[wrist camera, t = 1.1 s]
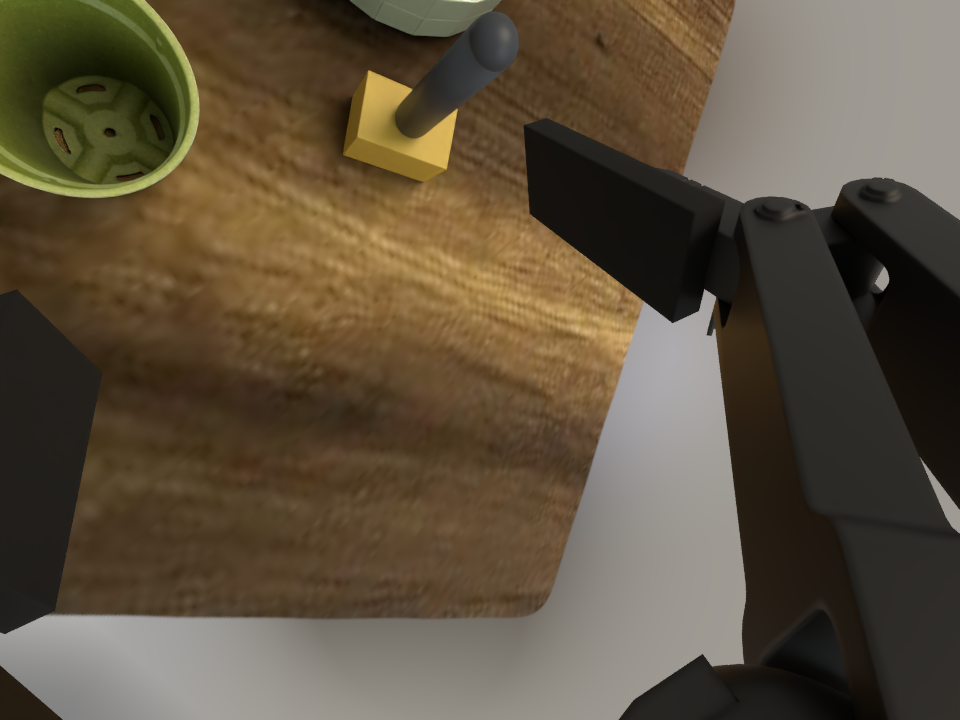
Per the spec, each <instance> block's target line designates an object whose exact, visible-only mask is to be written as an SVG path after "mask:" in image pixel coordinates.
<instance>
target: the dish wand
mask: <svg viewBox="0 0 960 720" xmlns="http://www.w3.org/2000/svg"><path fill="white" fill-rule="evenodd" d="M518 47H519V36H518V32H517V29H516V27H515V25H514V23H513V22H512V20H511V19H510V18H509V17H508V16H506V15H505V14H503V13H501V12H496V11H490V12H487V13H484V14H482V15H480V16H479V17H478V18H477V19H476V20H475V21H474V22H473V23H472V24H471V25H470V26H469V27H468V29H467V30H466V31H465V32H464V33H463V34H462V35H461V36H460V37H459V39H458V40H457V41H456V42H455V43H454V44H453V45H452V46H451V47H450V49H449V50H448V51H447V52H446V53H445V54H444V55H443V56H442V58H441V59H440V60H439V61H438V62H437V63H436V64H435V65H434V66H433V68H432V69H431V70H430V71H429V72H428V73H427V74H426V75H425V77H424V78H423V79H422V80H421V81H420V82H419V83H418V84H417V85H416V87H415V88H414V89H411V88H408V87H406V86H404V85H401V84H399V83H397V82H395V81H392V80H390V79H388V78H385V77H383V76H381V75H378V74H376V73H374V72H371V71H369V70H368V72H367V73H366V75H365V77H364V78H363V80H362V82H361V83H360V85H359V87H358V88H357V90H356V92H355V93H354V95H353V97H352V103H351V109H350V115H349V120H348V126H347V132H346V138H345V144H344V150H343V155H345V156H348V157H351V158H353V159H356V160H359V161H362V162H365V163H368V164H371V165H374V166H377V167H380V168H383V169H386V170H389V171H392V172H395V173H398V174H401V175H404V176H407V177H410V178H413V179H416V180H418V181H421V182H425V181H426V180H428V179H430V178H432V177H434V176H436V175H437V174H439V173H441V172H443V171H445V170H446V169H447V164H448V159H449V154H450V148H451V143H452V137H453V132H454V126H455V121H456V115H457V110H458V109H457V108H459V107H460V106H461V105H462V104H464V103H465V102H466V101H467V100H469V99H470V98H471V97H472V96H474V95H475V94H476V93H477V92H479V91H480V90H481V89H482V88H484V87H485V86H486V85H487V84H489V83H490V82H491V81H492V80H494V79H495V78H496V77H497V76H499V75H500V74H501V73H502V72H504V71H505V70H506V69H507V68H508V67H509V66H510V65H511V64H512V63H513V61H514V59H515V58H516V55H517V52H518Z"/></svg>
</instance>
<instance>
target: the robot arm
mask: <svg viewBox="0 0 960 720" xmlns="http://www.w3.org/2000/svg"><path fill="white" fill-rule="evenodd" d="M524 136H525V151H526V165H527V180H528V194H529V209H530V214H531V215H532V216H533V217H535V218H536V219H537V220H539V221H540V222H541V223H543V224H544V225H545V226H546V227H548V228H549V229H550V230H552V231H553V232H554V233H556V234H557V235H558V236H560V237H561V238H562V239H563V240H565V241H566V242H567V243H569V244H570V245H571V246H573V247H574V248H575V249H577V250H578V251H579V252H580V253H582V254H583V255H584V256H586V257H587V258H588V259H590V260H591V261H592V262H594V263H595V264H596V265H597V266H599V267H600V268H601V269H603V270H604V271H605V272H607V273H608V274H609V275H610V276H612V277H613V278H614V279H616V280H617V281H618V282H620V283H621V284H622V285H624V286H625V287H626V288H627V289H629V290H630V291H631V292H633V293H634V294H635V295H637V296H638V297H639V298H641V299H642V300H643V301H644V302H646V303H647V304H648V305H650V306H651V307H652V308H654V309H655V310H656V311H658V312H659V313H660V314H662V315H663V316H664V317H665V318H667V319H668V320H669V321H671V322H672V323H674V322H676V321H678V320H680V319H683V318H685V317H687V316H689V315H691V314H693V313H695V312H698V311H699V308H700V304H701V300H702V296H703V292H704V289H705V290H707V291H708V292H710V293H712V294H713V295H714V296H716V301H715V305H714V309H713V312H712V316H711V320H710V323H709V327H708V332H707V335H710V336H711V335H712V333H713V329H716V338H717V347H718V355H719V363H720V372H721V380H722V388H723V396H724V405H725V414H726V422H727V430H728V439H729V447H730V455H731V464H732V472H733V481H734V489H735V497H736V505H737V514H738V523H739V531H740V539H741V546H742V547H741V548H742V556H743V564H744V572H745V581H746V603H745V609H744V616H743V623H742V625H743V626H742V644H743V657H744V664H735V665H721V666H714V667H712V666H711V665H710V664H709V662H708V661H707V660H706V658H705V657H704V655H703V654H702V655H701V656H699V657H697V658H696V659H695V660H693V661H692V662H690V663H689V664H687V665H686V666H684V667H683V668H681V669H679V670H678V671H677V672H675V673H674V674H672V675H671V676H669V677H668V678H666V679H665V680H663V681H662V682H660V683H659V684H657V685H656V686H654V687H653V688H651V689H650V690H648V691H647V692H645V693H644V694H642V695H641V696H639V697H638V698H636V699H635V700H633V702H632V703H631V704H630V706H629V707H628V708H627V710H626V711H625V712H624V713H623V715H622V716H621V717H620V719H619V720H960V533H958V532H957V531H956V530H955V529H953V528H952V527H951V525H950V523H949V522H948V520H947V518H946V517H945V514H944V512H943V510H942V508H941V505H940V503H939V501H938V498H937V496H936V494H935V492H934V489H933V487H932V485H931V482H930V480H929V478H928V475H927V473H926V471H925V468H924V466H923V464H922V462H921V459H922V460H923V462H924V463H925V464H926V466H927V467H928V468H929V470H930V471H931V472H932V474H933V475H934V476H935V478H936V479H937V480H938V482H939V483H940V484H941V486H942V487H943V488H944V490H945V491H946V492H947V494H948V495H949V496H950V497H951V499H952V500H953V501H954V503H955V504H956V505H957V507H958V508H959V509H960V220H959V219H957V218H956V217H954V216H953V215H951V214H950V213H949V212H947V211H946V210H944V209H943V208H942V207H940V206H938V205H937V204H936V203H934V202H933V201H932V200H930V199H929V198H927V197H926V196H925V195H923V194H922V193H920V192H919V191H917V190H916V189H914V188H912V187H910V186H908V185H906V184H903V183H900V182H896V181H894V180H893V179H888V178H884V179H882V178H872V179H860V180H855V181H851V182H849V183H847V184H845V185H843V187H842V189H841V191H840V194H839V196H838V199H837V201H836V204H835V206H832V207H826V208H820V209H814V210H811V209H810V208H809V207H808V206H807V205H805V204H803V203H801V202H799V201H796V200H792V199H788V198H783V197H761V198H755V199H753V200H749V201H747V202H746V203H742V202H740V201H737V200H735V199H733V198H731V197H729V196H726V195H724V194H722V193H720V192H718V191H715V190H713V189H711V188H709V187H706V186H701V184H700V183H698V182H696V181H693V180H688V178H687V177H684V176H682V175H680V174H678V173H676V172H673V171H670V170H665V169H660V168H654V167H651V166H649V165H647V164H645V163H643V162H640V161H638V160H636V159H634V158H632V157H630V156H628V155H625V154H623V153H621V152H619V151H617V150H615V149H612V148H610V147H608V146H606V145H604V144H602V143H600V142H597V141H595V140H593V139H591V138H589V137H587V136H584V135H582V134H580V133H578V132H576V131H574V130H571V129H569V128H567V127H565V126H563V125H561V124H559V123H556V122H554V121H552V120H550V119H548V118H545V119H542V120H539V121H536V122H533V123H530V124H527V125H524ZM883 267H885V268H886V270H887V271H888V275H889V284H888V285H887V287H886V288H885V289H884V291H882V290H880V289H879V288H878V287H877V286H876V284H875V282H876V280H877V278H878V276H879V274H880V272H881V270H882V269H883ZM101 376H102V372H101V371H100V370H99V369H98V368H97V367H96V366H95V365H94V364H93V363H92V362H91V361H89V360H88V359H87V358H86V357H85V356H84V355H83V354H82V353H81V352H80V351H79V350H78V349H77V348H76V347H75V346H74V345H73V344H72V343H71V342H70V341H69V340H68V339H67V338H66V337H65V336H64V335H63V334H62V333H61V332H60V331H59V330H58V329H57V328H56V327H55V326H54V325H53V324H52V323H51V322H50V321H49V320H48V319H47V318H46V317H45V316H44V315H42V314H41V313H40V312H39V311H38V310H37V309H36V308H35V307H34V306H33V305H32V304H31V303H30V302H29V301H28V300H27V299H26V298H25V297H24V296H23V295H22V294H21V293H20V292H19V291H18V290H14V291H11V292H8V293H5V294H2V295H0V633H4V634H6V633H8V632H10V631H12V630H15V629H17V628H19V627H21V626H23V625H25V624H28V623H30V622H32V621H34V620H36V619H38V618H40V617H43V616H45V615H47V614H49V613H51V612H53V611H55V607H56V602H57V597H58V592H59V587H60V582H61V577H62V572H63V567H64V562H65V557H66V552H67V547H68V542H69V537H70V532H71V527H72V522H73V517H74V512H75V507H76V502H77V497H78V492H79V487H80V482H81V477H82V472H83V466H84V461H85V456H86V451H87V446H88V441H89V436H90V431H91V426H92V421H93V416H94V411H95V406H96V401H97V396H98V391H99V386H100V381H101ZM920 458H921V459H920ZM0 720H62V719H61V718H60V717H59V716H58V715H57V714H55V713H54V712H53V711H52V710H51V709H50V708H49V707H47V706H46V705H45V704H44V703H43V702H41V700H39V699H38V698H37V697H36V696H35V695H33V694H32V693H31V692H30V691H29V690H28V689H27V688H25V687H24V686H23V685H22V684H21V683H20V682H19V681H17V680H16V679H15V678H14V677H13V676H11V675H10V674H9V673H8V672H7V671H6V670H5V669H4V668H2V667H1V666H0Z"/></svg>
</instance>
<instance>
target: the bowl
mask: <svg viewBox="0 0 960 720" xmlns="http://www.w3.org/2000/svg"><path fill="white" fill-rule="evenodd" d="M350 1H351V2H352V3H353V4H355V5H356V6H357V7H358V8H360V9H361V10H362V11H364V12H365V13H366V14H367V15H369V16H370V17H371V18H373V19H374V20H376V21H379V22H381V23H384V24H386V25H389V26H391V27H393V28H396V29H398V30H401V31H403V32H406V33H408V34H411V35H412V34H413V35H419V36H440V37H447V36H448V37H449V36H452V35H455V34H457V33H460V32H462V31H465V30H467V29H468V27H469V26H470V25H471V24H472V23H473V22H474V21H475V20H476V19H477V18H478V17H479V16H480V15H482V14H484V13H487V12H490V11H493V10H494V9H495V8H496V7H497V6H498V5H499V4H500V3H501V2H502V1H503V0H350Z"/></svg>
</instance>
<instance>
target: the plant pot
mask: <svg viewBox="0 0 960 720" xmlns="http://www.w3.org/2000/svg"><path fill="white" fill-rule="evenodd" d="M91 84H97V85H101V86H103V87H104V88H105V89H106V90H105V91H89V92H84V93H79V94H78V93H77V88H78V87H81V86H85V85H91ZM151 115H153V116H155V117H156V118H157V119H158V120H159V121H160V124H161V127H162V129H163V132H164V139H163V140H159V139H158V136H157V132H156V129H155V126H154V124H153V123H152V121H151V119H150V116H151ZM198 122H199V97H198V90H197V85H196V81H195V77H194V74H193V71H192V69H191V66H190V64H189V61H188V59H187V57H186V55H185V53H184V51H183V49H182V47H181V45H180V44H179V42H178V40H177V39H176V37H175V36H174V34H173V33H172V31H171V30H170V28H169V27H168V26H167V25H166V23H165V22H164V21H163V20H162V19H161V17H160V16H159V15H158V14H157V13H156V11H155V10H154V9H153V8H152V7H151V6H150V5H149V4H148V3H147V2H146V1H145V0H0V174H2V175H4V176H6V177H8V178H11V179H13V180H15V181H17V182H20V183H22V184H25V185H27V186H30V187H33V188H36V189H40V190H43V191H47V192H50V193H54V194H59V195H64V196H71V197H82V198H105V197H115V196H121V195H126V194H130V193H133V192H137V191H140V190H142V189H145V188H147V187H149V186H151V185H153V184H155V183H157V182H159V181H160V180H162V179H164V178H165V177H166V176H167V175H168V174H170V173H171V172H172V171H173V170H174V169H175V168H176V167H177V166H178V165H179V164H180V163H181V162H182V160H183V159H184V158H185V156H186V155H187V153H188V151H189V149H190V148H191V146H192V143H193V141H194V138H195V135H196V131H197V127H198ZM55 128H60V129H61V130H62V132H63V136H64V139H65V142H66V143H67V146H68V147H69V148H68V149H69V150H70V151H71V154H69V153H66V152H65V151H64V150H63V149H62V147H61V146H60V145H59V144H58V142H57V140H56V137H55V134H54V132H55ZM106 128H111V129H114V130H115V132H116V135H115V136H114V137H108V136H106V135H105V133H104V131H105V129H106ZM138 172H142V173H144V175H143V176H142V177H140V178H137V179H132V180H131V181H119V180H118V179H117V178H116V177H117V176H118V175H130V174H135V173H138Z"/></svg>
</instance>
